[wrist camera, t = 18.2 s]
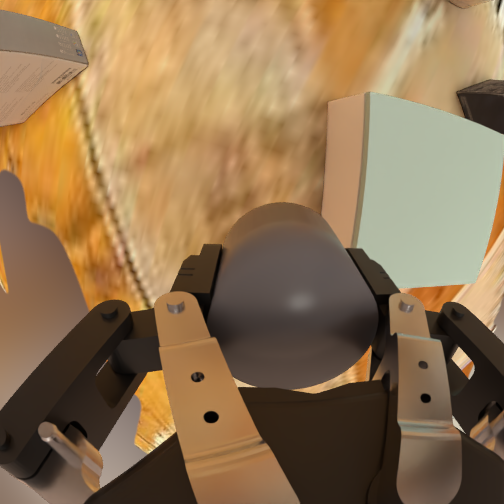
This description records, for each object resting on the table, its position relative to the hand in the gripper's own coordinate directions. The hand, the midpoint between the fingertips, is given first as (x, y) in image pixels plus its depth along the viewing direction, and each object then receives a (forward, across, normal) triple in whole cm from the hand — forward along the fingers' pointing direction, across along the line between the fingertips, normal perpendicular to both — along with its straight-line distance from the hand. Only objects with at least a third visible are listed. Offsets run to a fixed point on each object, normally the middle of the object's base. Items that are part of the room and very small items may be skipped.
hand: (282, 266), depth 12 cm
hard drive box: (+25, +32, -16) cm, 44 cm away
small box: (+26, -35, -16) cm, 46 cm away
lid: (+12, -17, 0) cm, 21 cm away
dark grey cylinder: (+1, 0, 0) cm, 1 cm away
